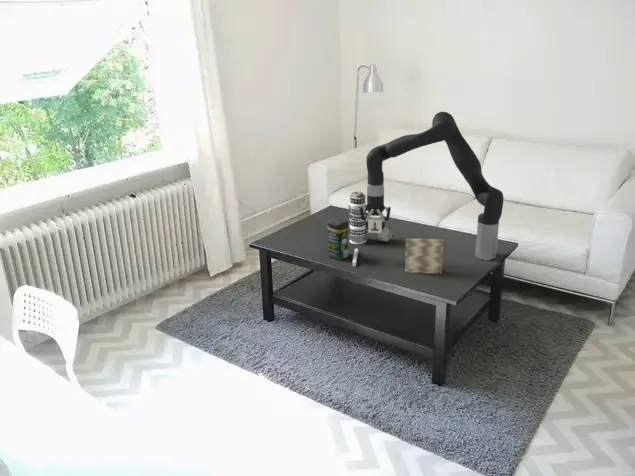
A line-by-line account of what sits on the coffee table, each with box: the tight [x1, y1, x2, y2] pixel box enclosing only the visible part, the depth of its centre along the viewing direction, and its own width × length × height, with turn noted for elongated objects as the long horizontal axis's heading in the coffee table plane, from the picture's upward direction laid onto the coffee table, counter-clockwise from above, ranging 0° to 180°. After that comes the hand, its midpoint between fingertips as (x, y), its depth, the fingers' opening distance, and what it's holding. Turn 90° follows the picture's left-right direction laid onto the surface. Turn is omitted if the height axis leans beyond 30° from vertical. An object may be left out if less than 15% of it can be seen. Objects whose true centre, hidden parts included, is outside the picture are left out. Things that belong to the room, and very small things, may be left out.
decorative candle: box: [348, 191, 368, 245], centre depth 295 cm, size 9×9×25 cm
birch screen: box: [404, 238, 445, 275], centre depth 262 cm, size 16×4×15 cm, turn 83°
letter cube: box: [367, 215, 382, 234], centre depth 271 cm, size 6×6×6 cm
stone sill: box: [352, 248, 359, 267], centre depth 279 cm, size 16×2×2 cm, turn 173°
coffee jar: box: [327, 216, 350, 260], centre depth 279 cm, size 10×8×19 cm
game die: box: [375, 226, 395, 244], centre depth 297 cm, size 9×8×10 cm
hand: (375, 228), depth 272 cm, fingers closed on letter cube, 6 cm apart
